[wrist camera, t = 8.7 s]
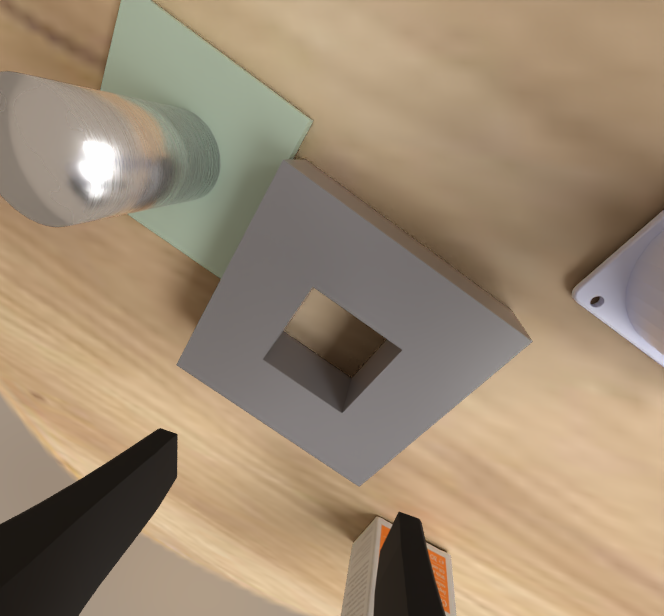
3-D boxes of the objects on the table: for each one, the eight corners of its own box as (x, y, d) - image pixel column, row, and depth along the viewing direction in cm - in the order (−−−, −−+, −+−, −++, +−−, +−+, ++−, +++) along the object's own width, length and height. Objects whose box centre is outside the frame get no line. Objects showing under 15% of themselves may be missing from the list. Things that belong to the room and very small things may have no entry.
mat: (313, 120, 15) (309, 119, 14) (229, 277, 19) (224, 281, 18) (136, -11, 14) (125, -18, 13) (89, 180, 18) (79, 180, 17)
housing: (512, 310, 16) (532, 341, 13) (365, 445, 21) (359, 486, 19) (305, 159, 15) (283, 159, 13) (206, 338, 21) (176, 365, 18)
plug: (237, 160, 15) (120, 163, 9) (187, 217, 17) (59, 252, 11) (172, 85, 15) (-3, 31, 8) (128, 152, 16) (-47, 149, 10)
